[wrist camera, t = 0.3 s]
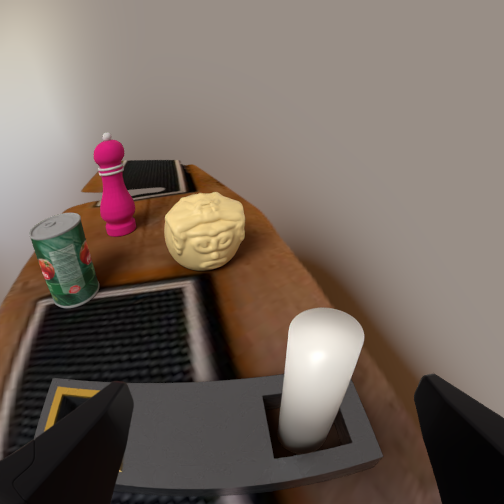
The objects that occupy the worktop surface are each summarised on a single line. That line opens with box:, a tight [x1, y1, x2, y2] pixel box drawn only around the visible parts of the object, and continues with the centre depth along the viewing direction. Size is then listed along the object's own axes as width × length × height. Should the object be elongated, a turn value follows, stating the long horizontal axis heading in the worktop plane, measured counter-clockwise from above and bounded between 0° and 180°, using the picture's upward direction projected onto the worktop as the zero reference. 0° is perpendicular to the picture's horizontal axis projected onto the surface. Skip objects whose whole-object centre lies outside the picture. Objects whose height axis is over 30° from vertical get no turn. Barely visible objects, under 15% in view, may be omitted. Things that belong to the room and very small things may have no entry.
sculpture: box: [164, 192, 245, 271], centre depth 44 cm, size 12×12×11 cm
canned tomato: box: [29, 213, 99, 308], centre depth 36 cm, size 8×8×11 cm
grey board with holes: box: [34, 374, 383, 496], centre depth 20 cm, size 28×10×3 cm, turn 97°
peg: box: [277, 308, 364, 454], centre depth 19 cm, size 4×4×12 cm
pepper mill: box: [94, 132, 136, 237], centre depth 52 cm, size 7×7×20 cm
